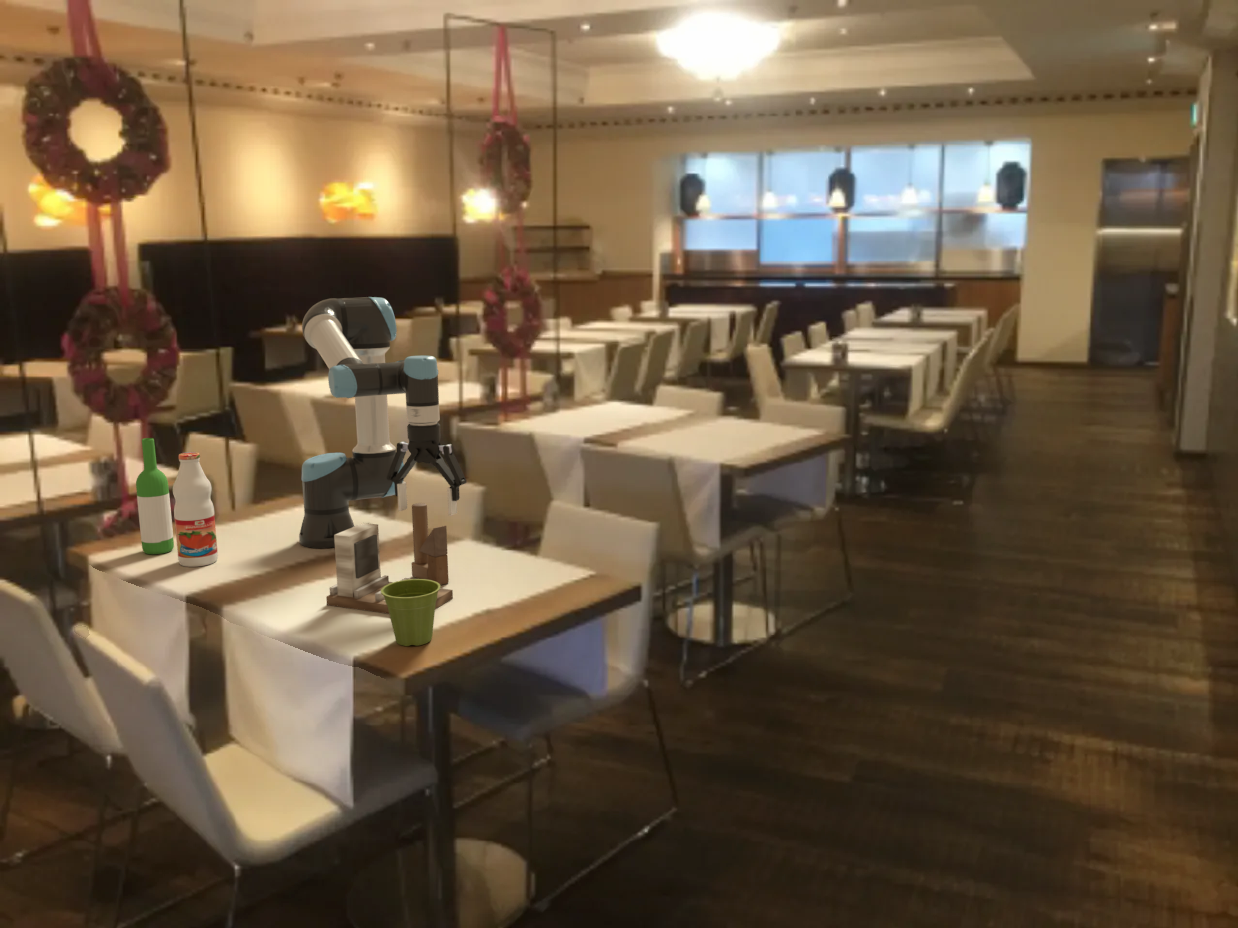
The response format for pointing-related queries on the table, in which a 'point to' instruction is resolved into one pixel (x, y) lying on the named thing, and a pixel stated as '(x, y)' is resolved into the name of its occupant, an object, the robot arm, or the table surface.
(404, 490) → the robot arm
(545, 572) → the table surface
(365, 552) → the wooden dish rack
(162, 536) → the wine bottle
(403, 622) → the plant pot
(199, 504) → the fruit juice
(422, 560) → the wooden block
